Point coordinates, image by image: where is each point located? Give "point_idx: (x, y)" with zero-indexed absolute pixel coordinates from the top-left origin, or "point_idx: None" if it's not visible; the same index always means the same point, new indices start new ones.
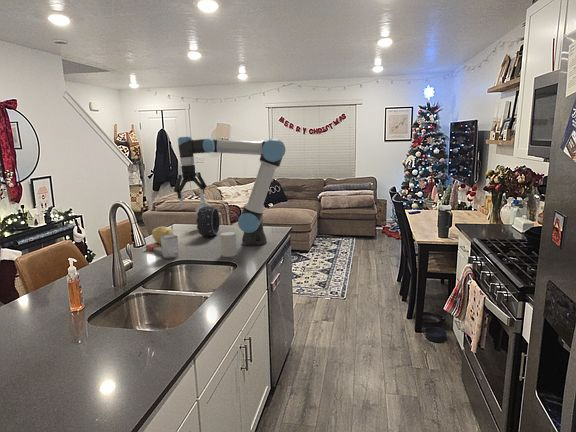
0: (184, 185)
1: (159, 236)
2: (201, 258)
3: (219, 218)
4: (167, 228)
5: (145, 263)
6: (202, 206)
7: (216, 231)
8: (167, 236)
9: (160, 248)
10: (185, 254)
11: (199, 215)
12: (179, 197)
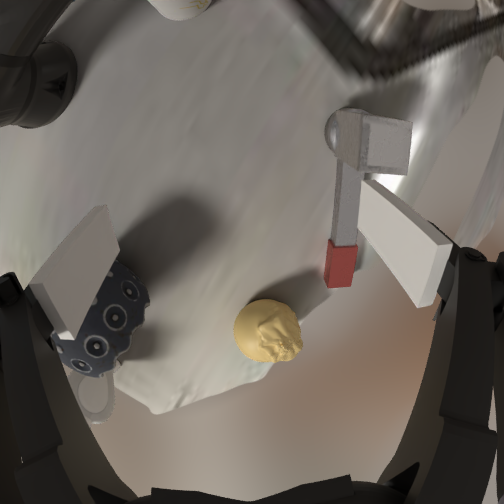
0: (454, 351)
1: (292, 316)
2: (284, 29)
3: None
4: (257, 339)
5: (423, 145)
6: (89, 407)
7: None
8: (393, 147)
9: (345, 218)
10: (297, 120)
11: (123, 331)
12: (433, 224)
